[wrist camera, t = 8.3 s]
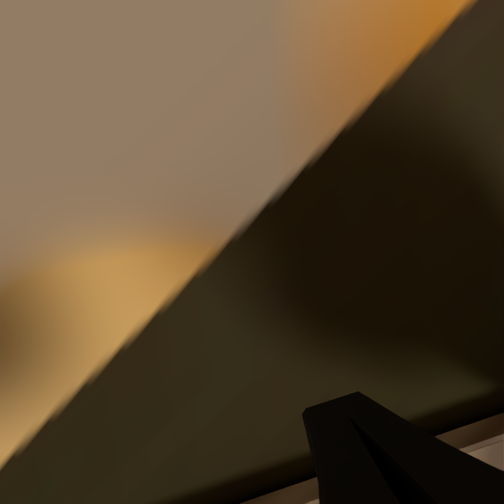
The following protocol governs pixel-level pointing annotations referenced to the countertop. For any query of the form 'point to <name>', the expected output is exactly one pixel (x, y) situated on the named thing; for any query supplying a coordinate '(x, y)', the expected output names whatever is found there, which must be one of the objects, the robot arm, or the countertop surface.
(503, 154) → the countertop surface
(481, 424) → the plank
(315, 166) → the countertop surface
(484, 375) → the countertop surface
